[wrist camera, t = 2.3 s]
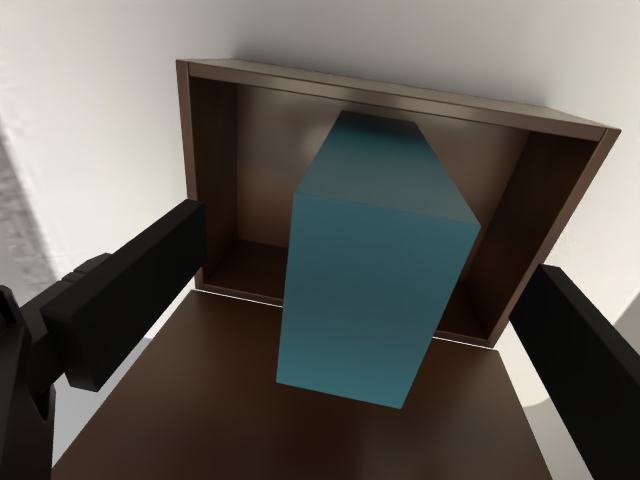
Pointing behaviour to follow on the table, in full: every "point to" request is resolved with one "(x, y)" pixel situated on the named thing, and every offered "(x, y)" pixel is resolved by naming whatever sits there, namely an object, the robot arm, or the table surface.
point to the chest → (392, 102)
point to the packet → (370, 260)
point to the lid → (295, 413)
